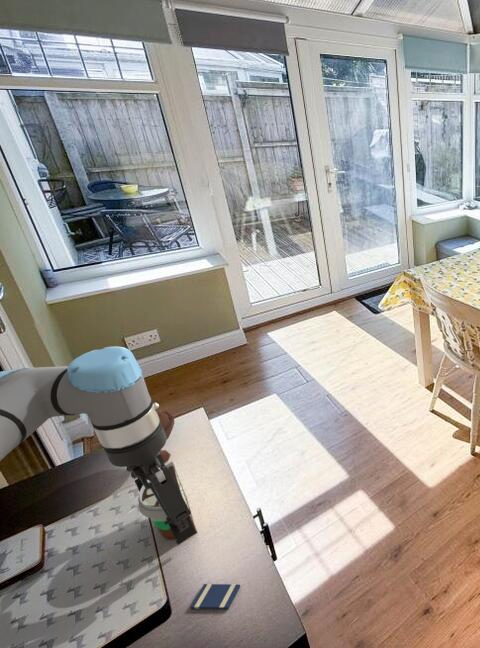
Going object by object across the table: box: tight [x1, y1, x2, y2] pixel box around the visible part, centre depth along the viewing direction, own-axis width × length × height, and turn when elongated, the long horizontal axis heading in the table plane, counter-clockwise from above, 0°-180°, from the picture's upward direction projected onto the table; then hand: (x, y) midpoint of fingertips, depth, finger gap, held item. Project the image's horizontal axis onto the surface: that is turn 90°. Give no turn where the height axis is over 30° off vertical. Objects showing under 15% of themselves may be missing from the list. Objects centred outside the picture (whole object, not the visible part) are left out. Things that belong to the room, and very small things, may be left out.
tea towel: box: [190, 583, 241, 610], centre depth 68 cm, size 6×3×1 cm, turn 91°
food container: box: [137, 461, 198, 541], centre depth 77 cm, size 12×6×10 cm, turn 45°
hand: (169, 518), depth 77 cm, fingers open, 12 cm apart
